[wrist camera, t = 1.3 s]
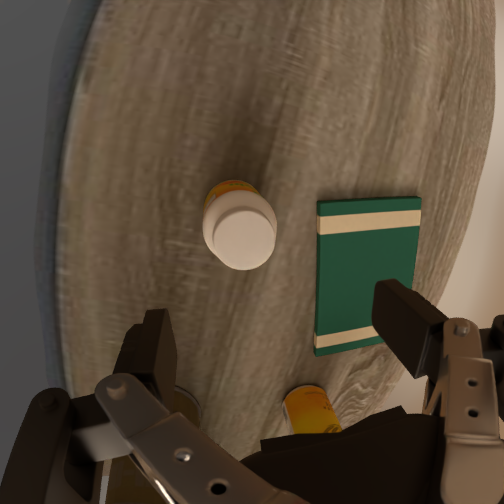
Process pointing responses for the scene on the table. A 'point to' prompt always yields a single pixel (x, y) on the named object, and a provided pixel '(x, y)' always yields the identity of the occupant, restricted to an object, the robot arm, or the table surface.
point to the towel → (360, 264)
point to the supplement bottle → (239, 225)
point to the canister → (130, 477)
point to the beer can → (309, 411)
